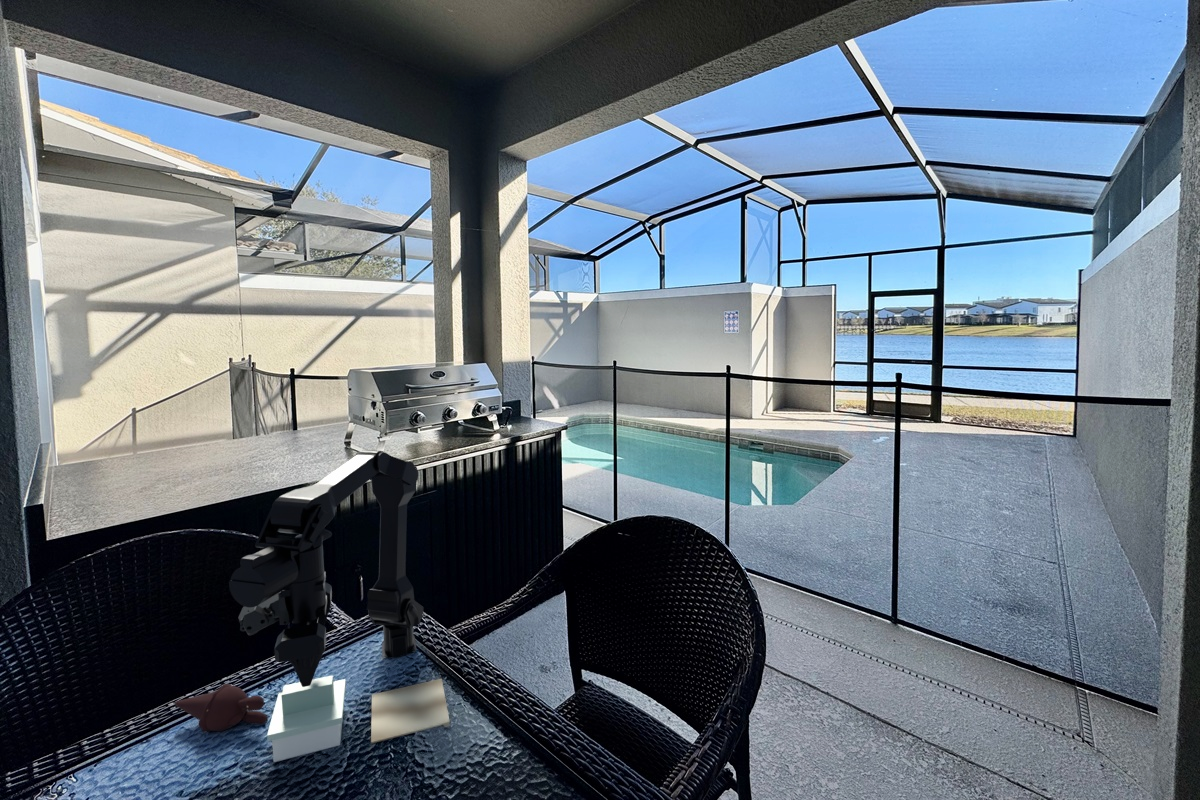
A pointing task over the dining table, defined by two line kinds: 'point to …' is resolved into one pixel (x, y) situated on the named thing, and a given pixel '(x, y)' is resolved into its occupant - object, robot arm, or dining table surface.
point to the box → (306, 742)
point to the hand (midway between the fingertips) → (309, 668)
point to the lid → (307, 707)
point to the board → (408, 710)
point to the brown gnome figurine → (224, 708)
